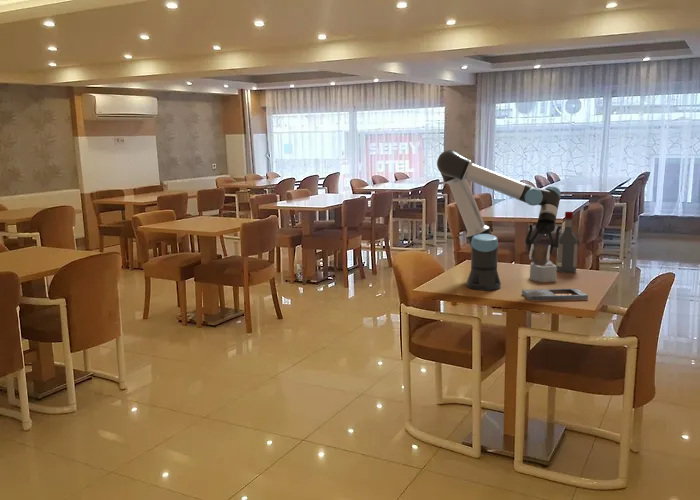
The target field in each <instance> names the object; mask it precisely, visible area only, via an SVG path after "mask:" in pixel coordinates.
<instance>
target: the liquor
mask: <svg viewBox="0 0 700 500" xmlns="http://www.w3.org/2000/svg"><path fill="white" fill-rule="evenodd" d="M573 214H574V212H573V211H565V212H564V218H565V219H564V222H565V223H564V229H563V231H561V233H560V234H559V247H558V248H556V264H555V265H556V271H557V272H558V273H571V274H573V273H576V271H577V264H578V248H579V247H578V245H579V243H578V242H579V240H578V238H577V237H576V235H575V233H574V232H573V216H574V215H573Z"/></svg>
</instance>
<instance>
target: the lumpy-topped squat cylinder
mask: <svg viewBox="0 0 700 500" xmlns="http://www.w3.org/2000/svg"><path fill="white" fill-rule="evenodd" d="M529 279H530V280H532V281H535V282H540V283H548V282H549V283H550V282H556V281H557V268H556V264H554V263H553V261H551V260H549V261H548V262H547V263H546V264H545V265H543V266H539V265H535V264H534V262H533V261H532V262H531V263H530V269H529Z"/></svg>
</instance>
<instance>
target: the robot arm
mask: <svg viewBox="0 0 700 500" xmlns="http://www.w3.org/2000/svg"><path fill="white" fill-rule="evenodd" d="M436 167H437V169H438V171H439V173H440V174H441V178H442V179H443V182H444V184H447V185H448V186H449V188H450V191H451V193H452V196H453V198H454V199H453V200H454V201H455V203H456V206H457V209H458V211H459V214H460V215H461V218H462V221H463V224H464V227H465V229H466V231H467V232H466V235H465V237H466V240H467V243H468V245H469V248H470V251H471V252H470V253H471V254H470V255H471V257H470V258H471V259H470V271H469V275H468V278H467V280H466V287H467V288H469V289H471V290H478V291H495V290H498V289H500V288H501V284H502V283H501V279H500V276H499V273H498V254H499V253H498V246H499V241H498V237H497V236H496V235H493V232H492V231H491V228H490V226H488V225H486V224H485V221H484V220H483V216H482V214H481V212H480V209H479V206H478V204H477V202H476V199H475V196H474V193H473V192H472V189H471V187H470V186H471V185H470V184H469V182H471V183H475V184H477V185H480V186H483V187H484V188H487V189H490V190H492V191H495V192H497V193H500V194H503V195H505V196H508V197H510V198H513V199H516V200H519V201H521V202H523V203H524V204H525V203H526V204H527V205H529V206H532V207H533V206H540V211H539V214H538V218H537V223H536V224H535V225H532V224H529V230H528V233H527V235H526V238H525V241H524V243H525V245H526V246H528V247H527V251H528V253H529V254H528V257H529V260H532V254H533V252H534V250H535V244H536V242H537V241H538V239H539V238H540V237H541V236H542V235H547V236H548V240H549V245H548V247H547V256H546V258H547V261H550V257H551V256H550V255H553V253H554V249H555V248H556V249H557V248H558V247H559V236H560V235H561V233H562V227H561V226H560V225H559V226H556V221H557V215H558V210H559V207H560V201H561V190H560V189H559V188H558V187H556V186H547V187H545V188H540V187H537V186H534V185H531V184H527V183H524V182H521V181H518V180H516V179H513V178H511V177H508V176H506V175H503V174H500V173H498V172H495V171H493V170H490V169H488V168H485V167H483V166H480V165H477V164H475V163H473V162H472V160H471V159H469V158H466V157H464V156H463V155H461V153H460V152H459V151H457V150H454V149H447V150H444V151H442V152H441V153H440V155H439V156H438V158H437V160H436ZM535 229H536V232H535V233H534V231H535ZM554 230H555V241H553V236H552V233H553V232H554ZM533 233H534V235H533ZM532 261H533V260H532Z"/></svg>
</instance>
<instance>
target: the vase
mask: <svg viewBox="0 0 700 500" xmlns="http://www.w3.org/2000/svg"><path fill="white" fill-rule="evenodd" d="M547 251H548V249H546V247H545V246H544V244H538V245H537V246H536V248H534V250H533V254H532V262H534V264H535V265H539V266H543V265H545V264H546V263H547V262H548V261H547V258H546V256H547Z"/></svg>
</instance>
